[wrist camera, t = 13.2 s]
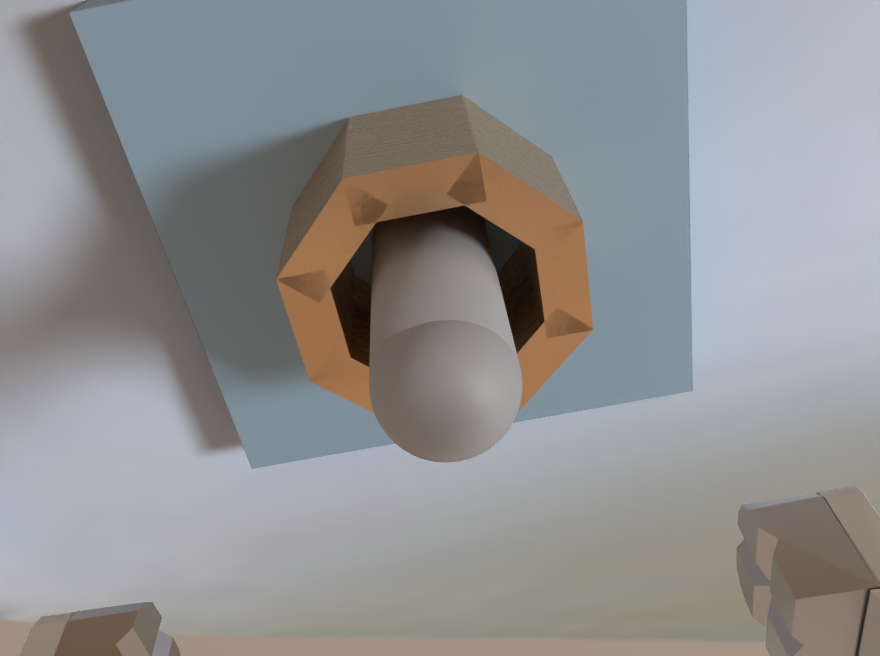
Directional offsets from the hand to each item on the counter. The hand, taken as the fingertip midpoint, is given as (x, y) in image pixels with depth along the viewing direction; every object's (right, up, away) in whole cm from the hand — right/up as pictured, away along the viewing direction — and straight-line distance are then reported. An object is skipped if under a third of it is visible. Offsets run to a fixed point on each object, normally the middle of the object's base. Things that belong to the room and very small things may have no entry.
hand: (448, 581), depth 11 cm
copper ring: (0, +6, +11) cm, 12 cm away
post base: (-1, +7, +12) cm, 14 cm away
